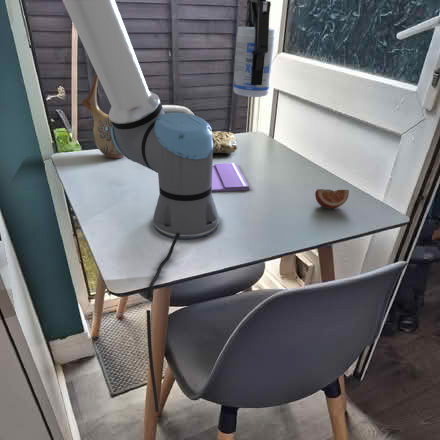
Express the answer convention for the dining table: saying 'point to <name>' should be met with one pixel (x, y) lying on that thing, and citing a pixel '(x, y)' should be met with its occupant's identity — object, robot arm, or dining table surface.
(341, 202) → the fruit slice
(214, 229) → the robot arm
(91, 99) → the ceramic vessel
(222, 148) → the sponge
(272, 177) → the dining table surface
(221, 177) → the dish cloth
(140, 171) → the dining table surface
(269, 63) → the supplement tub
